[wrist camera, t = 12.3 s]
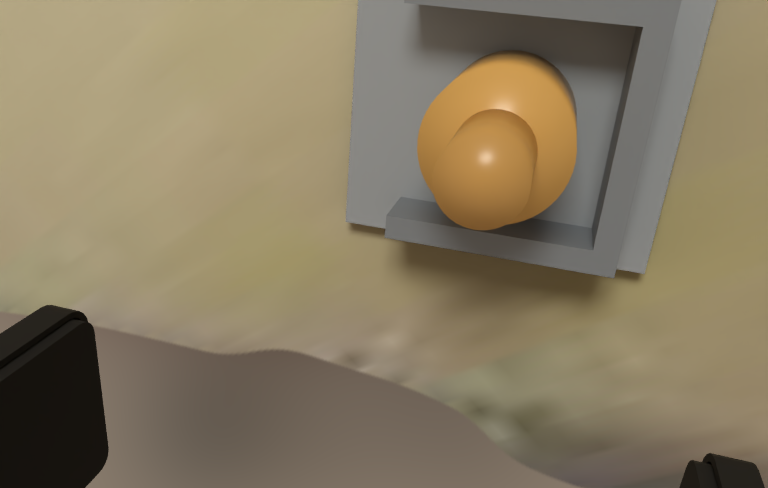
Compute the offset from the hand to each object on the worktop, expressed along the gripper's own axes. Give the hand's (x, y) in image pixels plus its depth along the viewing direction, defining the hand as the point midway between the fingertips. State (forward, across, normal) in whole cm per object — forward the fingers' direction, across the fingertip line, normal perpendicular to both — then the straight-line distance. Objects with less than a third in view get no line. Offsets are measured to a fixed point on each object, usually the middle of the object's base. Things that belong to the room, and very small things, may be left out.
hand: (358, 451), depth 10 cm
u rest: (+26, 0, 0) cm, 26 cm away
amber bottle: (+25, 0, 0) cm, 25 cm away
